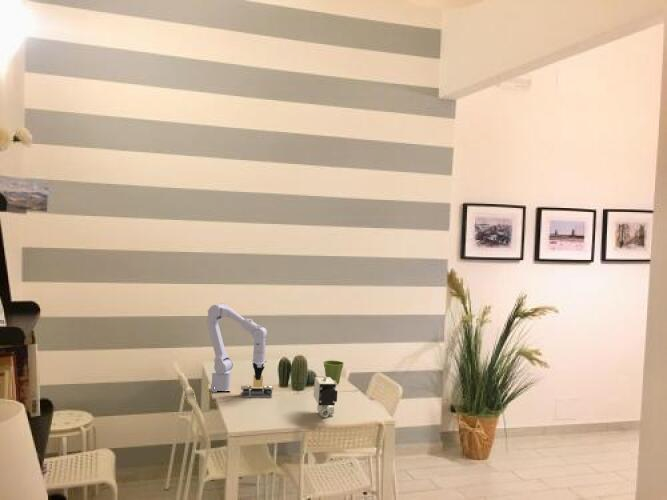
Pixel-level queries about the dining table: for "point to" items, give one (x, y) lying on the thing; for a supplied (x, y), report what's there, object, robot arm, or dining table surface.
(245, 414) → the dining table surface
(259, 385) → the coupler
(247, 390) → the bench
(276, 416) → the dining table surface
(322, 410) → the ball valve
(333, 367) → the plant pot
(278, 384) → the dining table surface
